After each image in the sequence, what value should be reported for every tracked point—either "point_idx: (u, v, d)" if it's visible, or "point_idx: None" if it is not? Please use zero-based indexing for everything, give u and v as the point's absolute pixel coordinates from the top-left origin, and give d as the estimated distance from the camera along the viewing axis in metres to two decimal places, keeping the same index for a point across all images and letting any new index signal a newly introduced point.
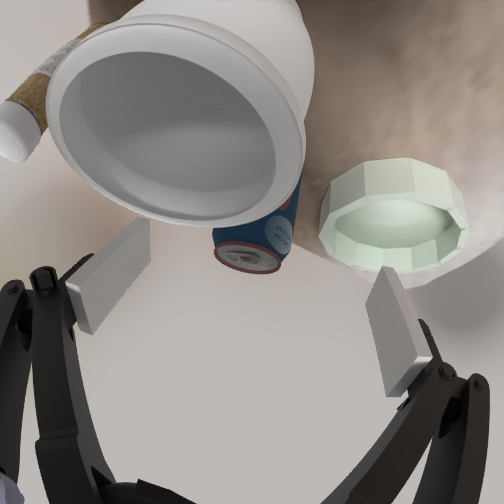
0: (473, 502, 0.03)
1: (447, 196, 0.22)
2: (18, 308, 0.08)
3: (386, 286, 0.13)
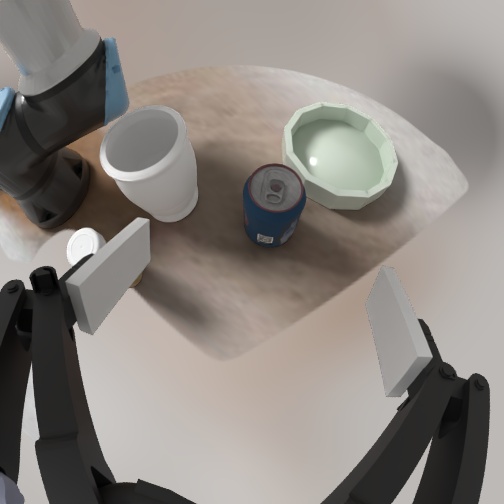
0: (473, 502, 0.03)
1: None
2: (18, 308, 0.08)
3: (386, 286, 0.13)
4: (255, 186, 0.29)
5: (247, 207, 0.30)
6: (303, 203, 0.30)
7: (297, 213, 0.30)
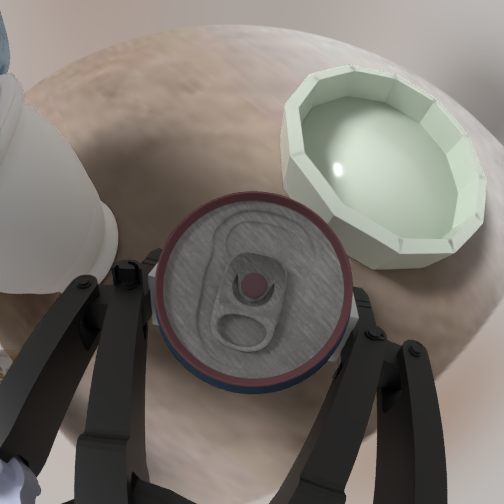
0: (440, 475, 0.04)
1: None
2: (86, 306, 0.09)
3: None
4: (180, 281, 0.08)
5: (165, 339, 0.09)
6: (345, 327, 0.09)
7: (324, 362, 0.09)
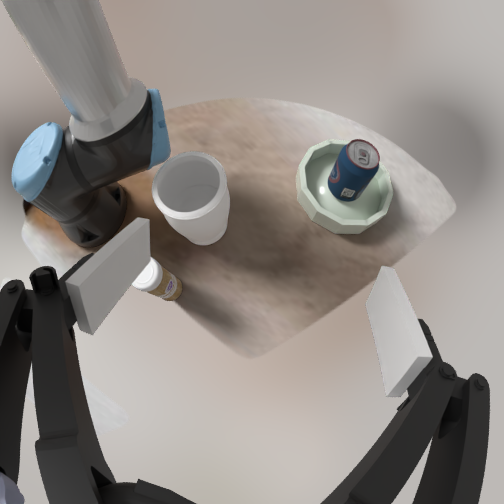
0: (473, 502, 0.03)
1: None
2: (18, 308, 0.08)
3: (386, 286, 0.13)
4: (350, 152, 0.41)
5: (344, 166, 0.41)
6: (378, 166, 0.41)
7: (376, 172, 0.41)
